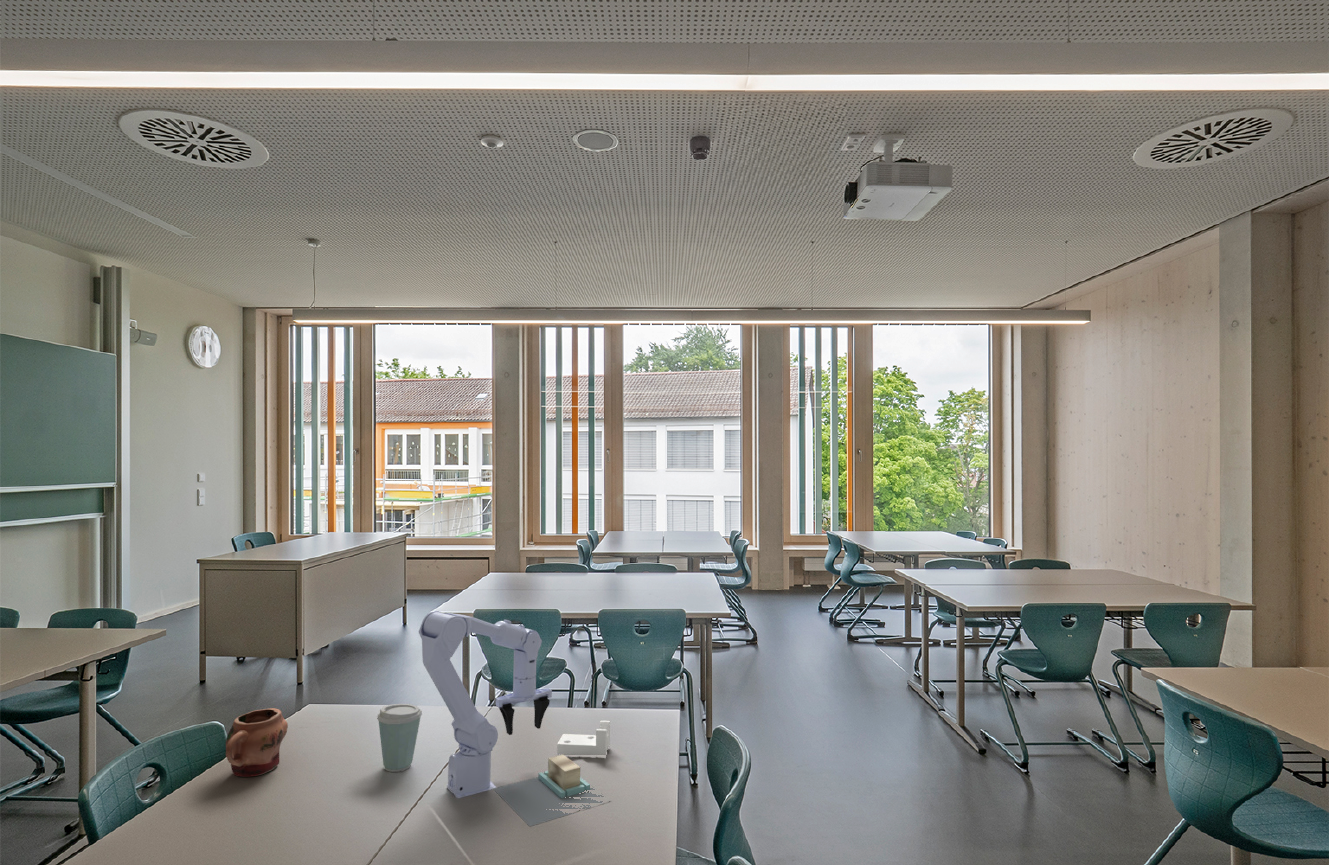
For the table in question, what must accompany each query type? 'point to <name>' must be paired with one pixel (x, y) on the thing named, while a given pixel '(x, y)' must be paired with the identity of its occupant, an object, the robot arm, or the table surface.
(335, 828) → the table surface
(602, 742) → the bracket
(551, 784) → the teal frame
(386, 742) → the disposable coffee cup
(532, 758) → the table surface
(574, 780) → the birch block
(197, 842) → the table surface
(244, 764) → the decorative planter
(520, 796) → the rubber mat
